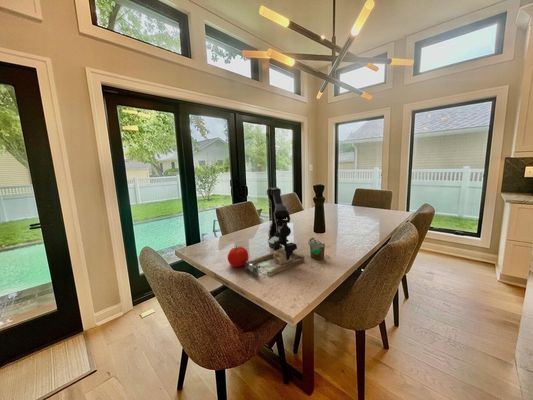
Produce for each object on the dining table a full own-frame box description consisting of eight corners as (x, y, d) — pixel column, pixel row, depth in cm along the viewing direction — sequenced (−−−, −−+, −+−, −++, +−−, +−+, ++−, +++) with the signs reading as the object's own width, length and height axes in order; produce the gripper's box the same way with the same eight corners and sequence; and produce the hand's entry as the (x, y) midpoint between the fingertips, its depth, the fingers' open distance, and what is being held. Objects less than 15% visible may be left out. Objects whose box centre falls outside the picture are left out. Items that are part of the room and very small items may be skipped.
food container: (304, 254, 134) (304, 238, 132) (313, 252, 136) (313, 237, 134) (316, 262, 122) (315, 245, 121) (325, 260, 124) (325, 243, 123)
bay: (248, 264, 123) (248, 259, 123) (283, 252, 138) (283, 247, 138) (267, 276, 109) (267, 271, 109) (304, 261, 124) (304, 256, 124)
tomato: (239, 258, 131) (238, 242, 130) (253, 263, 124) (252, 246, 122) (223, 266, 122) (222, 248, 121) (237, 272, 115) (236, 253, 113)
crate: (273, 261, 126) (273, 251, 125) (284, 257, 131) (284, 247, 130) (280, 264, 122) (280, 254, 121) (291, 260, 126) (291, 250, 126)
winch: (243, 270, 117) (243, 259, 116) (253, 266, 121) (252, 256, 120) (257, 279, 107) (256, 267, 106) (267, 275, 111) (266, 263, 110)
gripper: (260, 230, 126) (261, 256, 129) (281, 238, 112) (282, 267, 114) (275, 226, 133) (276, 251, 135) (297, 233, 118) (297, 261, 121)
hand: (282, 257), depth 126 cm, fingers open, 9 cm apart
